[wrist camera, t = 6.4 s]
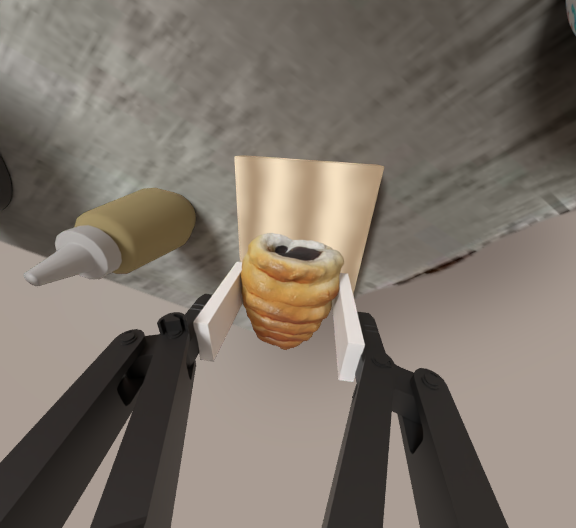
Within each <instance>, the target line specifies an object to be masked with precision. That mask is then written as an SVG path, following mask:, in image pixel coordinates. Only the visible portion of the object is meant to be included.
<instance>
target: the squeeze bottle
mask: <svg viewBox="0 0 576 528" xmlns="http://www.w3.org/2000/svg"><path fill="white" fill-rule="evenodd" d="M195 221H196V215H195V211H194V208H193V207H192V205H191V204H190V202H189V201H188V200H187V199H186V198H184V197H183V196H182V195H180V194H177V193H174V192H170V191H166V190H162V189H158V188H147V189H141V190H139V191H137V192H134V193H132V194H129V195H127V196H124V197H122V198H119V199H117V200H114V201H112V202H109V203H107V204H104V205H102V206H99V207H97V208H94V209H92V210H89V211H87V212H85V213H83V214H82V215H81V216H79V217H78V218H77V220H76V223H75V226H74V228H71V229H68V230H65V231H63V232H61V233H60V234H59V235H57V238H56V241H55V247H56V251H57V252H55V253H54V254H52V255H51V256H49V257H48V258H46V259H45V260H43V261H42V262H40V263H39V264H37V265H36V266H34V267H33V268H31V269H30V270H28V271H27V272H26V273H24V278H25V279H26V281H28V282H29V283H30V284H32V285H34V286H41V285H44V284H47V283H51V282H54V281H57V280H61V279H64V278H68V277H71V276H75V275H80V276H82V277H85V278H88V279H101V278H103V277H104V276H106V275H108V274H110V273H111V272H113V273H116V274H127V273H129V272H131V271H133V270H135V269H137V268H139V267H141V266H143V265H145V264H147V263H149V262H151V261H153V260H155V259H157V258H159V257H161V256H163V255H165V254H167V253H169V252H171V251H173V250H175V249H177V248H179V247H181V246H182V245H184V244H185V243H186V242H187V240H188V239H189V237H190V235H191V233H192V230H193V228H194V226H195Z"/></svg>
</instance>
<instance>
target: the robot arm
mask: <svg viewBox="0 0 576 528" xmlns="http://www.w3.org/2000/svg"><path fill="white" fill-rule="evenodd" d="M11 196H12V186H11V181H10V177H9V174H8V171H7V169H6V166H5V164H4V162H3V160H2V159H1V157H0V210H2V209H4V208H5V207H6V206H7V205H8V204H9V202H10V200H11ZM241 271H242V262H236V263H235V265H234V266H233V267H232V269H231V270H230V272H229V273H228V274H227V276H226V277H225V279H224V280H223V281H222V283H221V284H220V286H219V287H218V288H217V290H216V291H215V292H214V294H213V295H210V294H204V295H202V296H201V297H199V298H198V299H197V300H196V302H195V303H194V305H192V307H191V308H190V309H189V310H188V312H187V313H186V314H185V315H184V314H182V313H179V312H174V313H169V314H167V315H165V316H163V317H162V318H160V319H159V321H158V322H157V324H158V328H159V331H160V334H159V335H150V336H145V335H144V332H142V331H141V330H137V329H135V330H129V331H126V332H124V333H122V334H120V335H119V336H117V337H116V338H115V339H114V340H113V341H112V342H111V343H110V345H109V346H108V347H107V348H106V349H105V350H104V351H103V352H102V353H101V354H100V355H99V356H98V358H97V359H96V360H95V361H94V362H93V363H92V364H91V365H90V366H89V367H88V368H87V369H86V371H85V372H84V373H83V374H82V375H81V376H80V377H79V378H78V379H77V380H76V381H75V382H74V384H73V385H72V386H71V387H70V388H69V389H68V390H67V391H66V392H65V393H64V394H63V396H62V397H61V398H60V399H59V400H58V401H57V402H56V403H55V404H54V405H53V406H52V407H51V408H50V410H49V411H48V412H47V413H46V414H45V415H44V416H43V417H42V418H41V419H40V420H39V422H38V423H37V424H36V425H35V426H34V427H33V428H32V429H31V430H30V431H29V432H28V433H27V434H26V436H25V437H24V438H23V439H22V440H21V441H20V442H19V443H18V444H17V445H16V446H15V447H14V449H13V450H12V451H11V452H10V453H9V454H8V455H7V456H6V457H5V458H4V459H3V460H2V462H1V463H0V528H62V527H63V525H64V524H65V522H66V520H67V519H68V517H69V515H70V514H71V512H72V510H73V508H74V507H75V505H76V504H77V502H78V500H79V499H80V497H81V495H82V494H83V492H84V490H85V489H86V487H87V485H88V484H89V482H90V481H91V479H92V477H93V476H94V474H95V472H96V471H97V469H98V467H99V466H100V464H101V462H102V461H103V459H104V457H105V456H106V454H107V452H108V451H109V449H110V447H111V446H112V444H113V442H114V441H115V439H116V437H117V436H118V434H119V432H120V431H121V429H122V427H123V426H124V424H125V423H126V421H127V419H128V418H129V416H130V414H131V413H132V415H131V418H130V420H129V423H128V426H127V428H126V431H125V434H124V437H123V439H122V442H121V445H120V448H119V450H118V453H117V456H116V459H115V461H114V464H113V467H112V469H111V472H110V475H109V478H108V480H107V483H106V486H105V489H104V491H103V494H102V497H101V500H100V502H99V505H98V508H97V510H96V513H95V516H94V519H93V522H92V524H91V527H90V528H171V521H172V515H173V509H174V501H175V496H176V489H177V483H178V477H179V470H180V464H181V458H182V451H183V445H184V438H185V432H186V426H187V419H188V413H189V407H190V400H191V394H192V388H193V381H194V375H195V368H196V361H195V359H196V357H197V355H198V354H200V360H207V361H214V360H215V358H216V356H217V354H218V352H219V350H220V348H221V346H222V343H223V342H224V340H225V337H226V335H227V333H228V331H229V329H230V327H231V325H232V323H233V321H234V319H235V317H236V315H237V313H238V311H239V309H240V307H241V305H242V303H243V298H242V293H241V289H242V283H241ZM332 310H333V321H334V333H335V343H336V356H337V367H338V378H339V380H343V381H350V382H353V381H354V378H355V376H356V382H357V384H356V387H355V390H354V393H353V396H352V398H353V399H352V403H351V407H350V412H349V416H348V420H347V424H346V428H345V433H344V437H343V441H342V445H341V449H340V453H339V457H338V462H337V466H336V470H335V474H334V478H333V482H332V487H331V491H330V495H329V499H328V503H327V507H326V512H325V516H324V520H323V524H322V528H383V516H384V504H385V491H386V478H387V464H388V451H389V438H390V426H391V412H392V411H393V412H395V413H397V414H398V419H399V424H400V428H401V433H402V438H403V444H404V449H405V453H406V459H407V464H408V469H409V474H410V479H411V484H412V489H413V494H414V499H415V504H416V509H417V515H418V519H419V525H420V528H509V527H508V525H507V523H506V520H505V518H504V516H503V513H502V511H501V509H500V507H499V504H498V502H497V500H496V497H495V495H494V493H493V490H492V488H491V486H490V483H489V481H488V479H487V476H486V474H485V472H484V470H483V468H482V466H481V463H480V460H479V458H478V456H477V454H476V451H475V449H474V446H473V444H472V442H471V440H470V438H469V435H468V433H467V430H466V428H465V426H464V423H463V421H462V419H461V417H460V414H459V412H458V410H457V407H456V405H455V403H454V400H453V398H452V396H451V393H450V391H449V389H448V387H447V385H446V383H445V382H444V380H443V379H442V378H441V377H440V376H439V375H438V374H436V373H435V372H433V371H431V370H428V369H424V368H419V369H417V370H416V371H415V372H414V373H413V372H411V371H408V370H406V369H403V368H401V367H399V366H397V365H395V364H394V362H393V360H392V359H391V358H390V357H389V356H388V355H387V354H386V353H385V350H384V347H383V344H382V341H381V338H380V335H379V333H378V329H377V325H376V322H375V320H374V318H373V317H372V316H371V315H370V314H369V313H363V312H357V310H356V306H355V301H354V297H353V293H352V289H351V284H350V280H349V276H348V274H346V273H340V276H339V292H338V294H337V296H336V297H335V298H334V299H333V300H332ZM132 411H133V412H132Z"/></svg>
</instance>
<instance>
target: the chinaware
mask: <svg viewBox="0 0 576 528" xmlns="http://www.w3.org/2000/svg"><path fill="white" fill-rule="evenodd" d="M566 11H567V17H568V20H569V24H570V26H571V29H572V31H573V32H574V34H575V36H576V0H566Z"/></svg>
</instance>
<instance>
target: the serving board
mask: <svg viewBox="0 0 576 528" xmlns="http://www.w3.org/2000/svg"><path fill="white" fill-rule="evenodd" d="M383 170H384V166H380V165H373V164H358V163H344V162H329V161H315V160H301V159H286V158H272V157H257V156H235V174H236V193H237V212H238V231H239V250H240V262H242V261H243V259H244V257H245V255H246V253H247V251H248V245H249V244H250V243H251V241H252V240H254V239H255V238H256V237H258V236H259V235H263V234H267V233H274V234H281V235H284V236H286V237H288V238H290V239H292V240H307V241H309V240H312V241H316V242H319V243H323V244H325V245H327V246H329V247H331V248H332V249H333V250H337V251H339V252H340V253H341V255H342V256H343V258H344V265H343V266H342V268H341V271H340V273H346V274H348V276H349V280H350V284H351V289H352V293H354V289H355V285H356V281H357V277H358V273H359V269H360V265H361V260H362V256H363V252H364V248H365V244H366V240H367V236H368V232H369V227H370V223H371V219H372V215H373V211H374V207H375V203H376V199H377V195H378V190H379V186H380V182H381V178H382V174H383Z"/></svg>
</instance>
